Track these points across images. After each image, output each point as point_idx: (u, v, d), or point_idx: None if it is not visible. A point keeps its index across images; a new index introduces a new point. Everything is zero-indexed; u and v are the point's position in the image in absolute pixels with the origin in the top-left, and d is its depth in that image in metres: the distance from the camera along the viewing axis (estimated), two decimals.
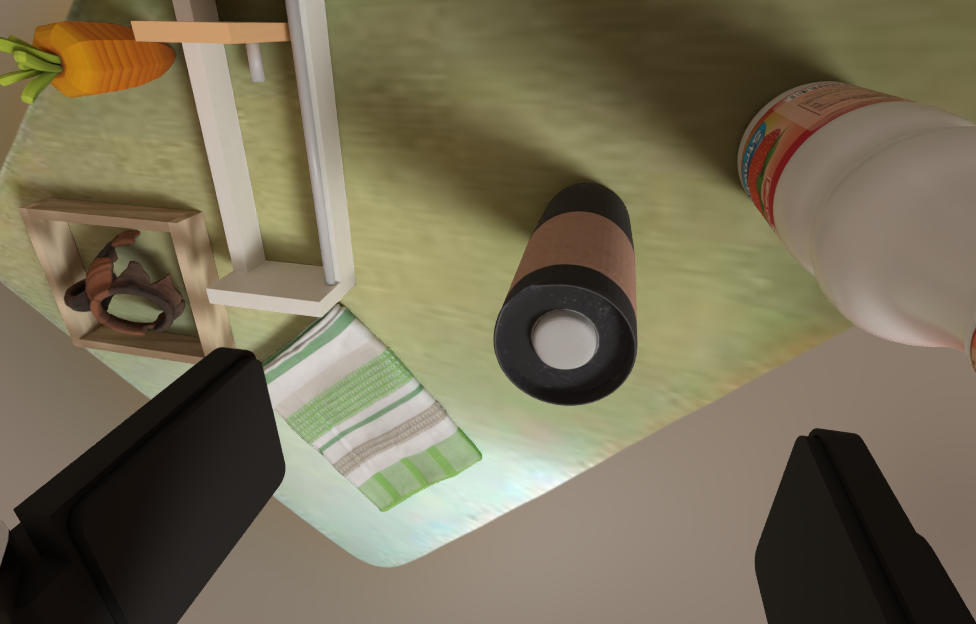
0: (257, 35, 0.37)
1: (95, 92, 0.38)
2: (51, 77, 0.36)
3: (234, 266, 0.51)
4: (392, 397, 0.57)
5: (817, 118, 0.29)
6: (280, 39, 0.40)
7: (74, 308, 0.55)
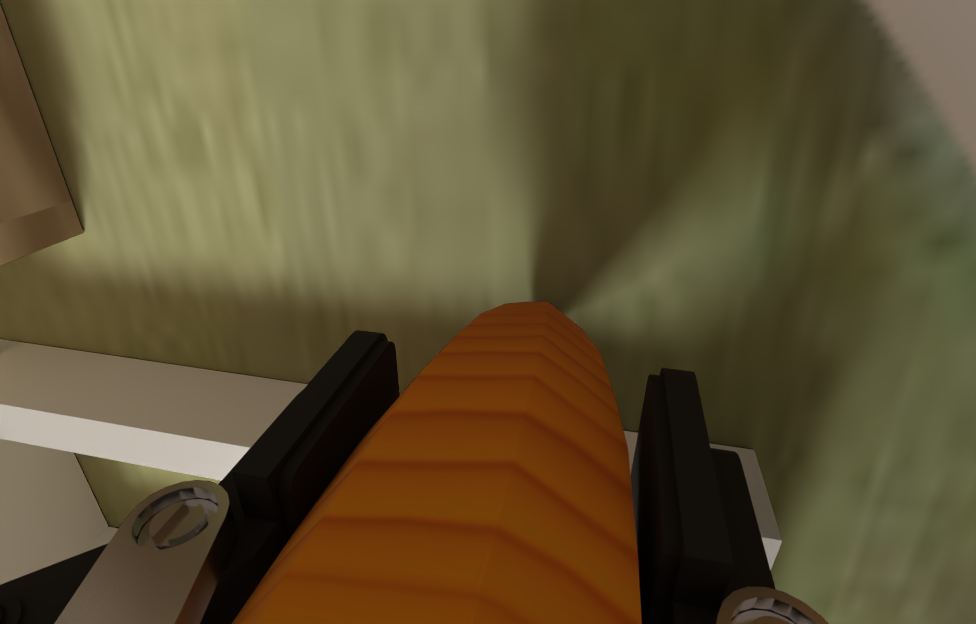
0: None
1: None
2: None
3: None
4: None
5: None
6: None
7: None
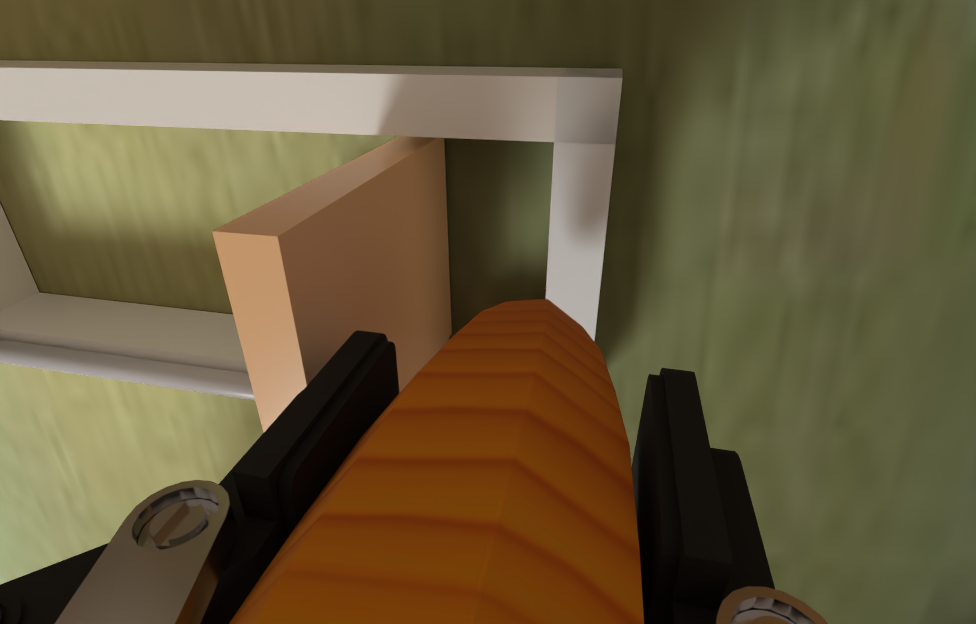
0: None
1: None
2: None
3: None
4: None
5: None
6: None
7: None
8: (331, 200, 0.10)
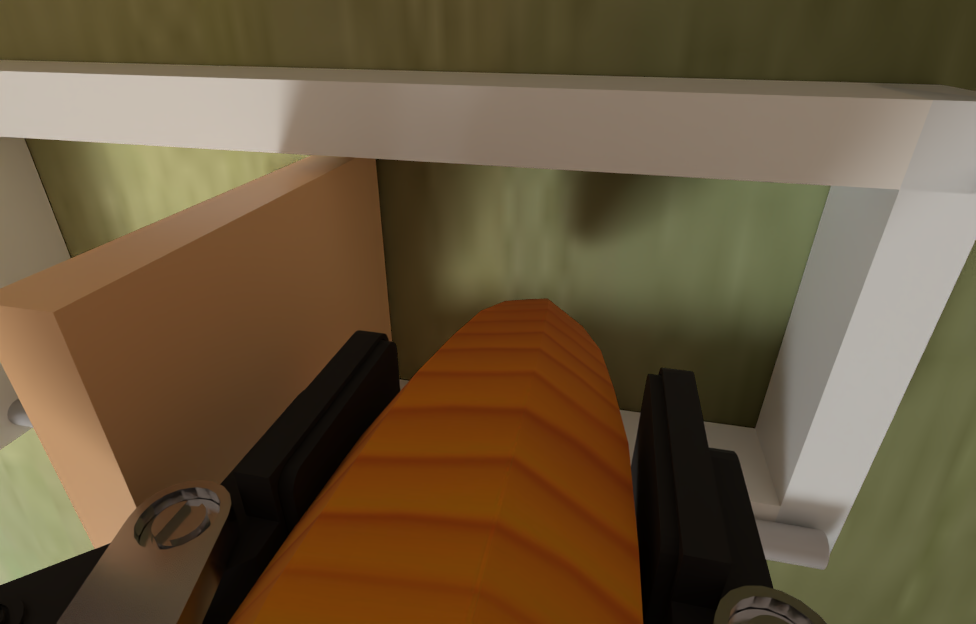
0: None
1: None
2: None
3: None
4: None
5: None
6: None
7: None
8: (172, 247, 0.08)
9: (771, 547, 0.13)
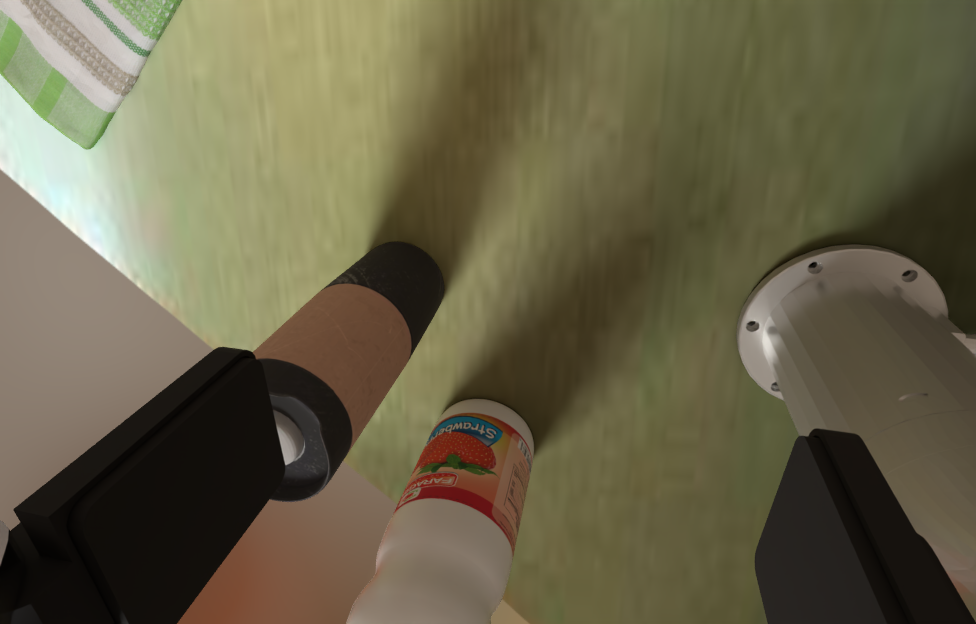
0: None
1: None
2: None
3: None
4: (107, 8, 0.37)
5: (501, 505, 0.39)
6: None
7: None
8: None
9: None
